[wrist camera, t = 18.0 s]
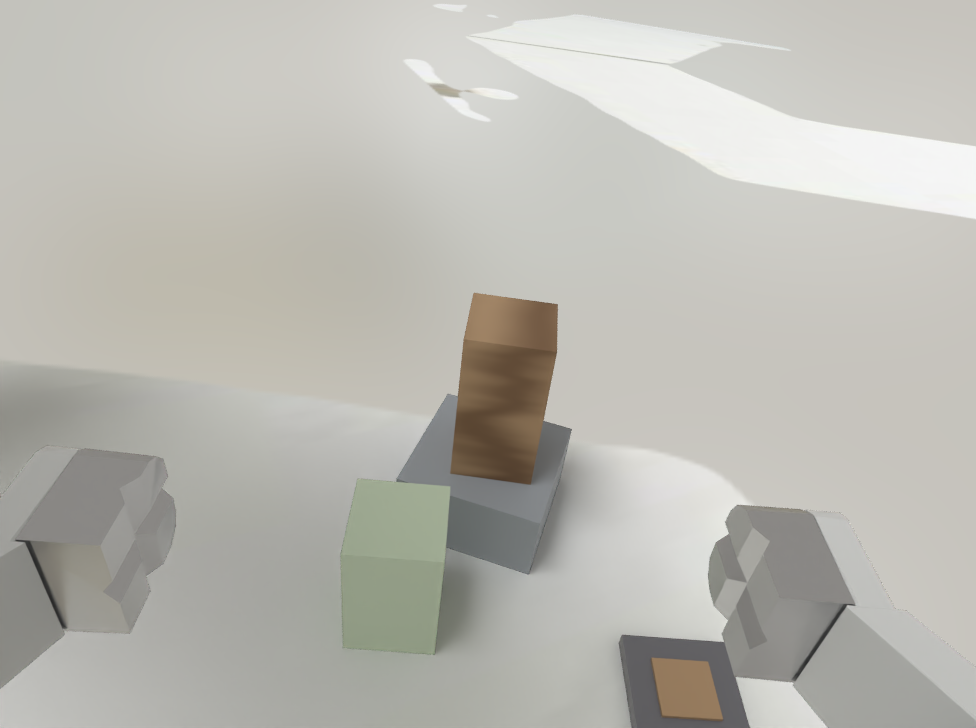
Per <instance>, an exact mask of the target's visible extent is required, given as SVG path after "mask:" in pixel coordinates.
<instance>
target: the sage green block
mask: <svg viewBox="0 0 976 728" xmlns="http://www.w3.org/2000/svg"><path fill="white" fill-rule="evenodd" d="M450 487H451V486H439V485H427V484H415V483H404V482H392V481H380V480H368V479H357V483H356V487H355V492H354V496H353V501H352V505H351V510H350V514H349V519H348V523H347V528H346V532H345V537H344V541H343V545H342V550H341V593H342V632H343V648H349V649H363V650H377V651H391V652H404V653H418V654H432V655H434V654H435V645H436V636H437V627H438V619H439V610H440V601H441V592H442V583H443V574H444V565H445V553H446V540H447V527H448V513H449V500H450Z"/></svg>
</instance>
